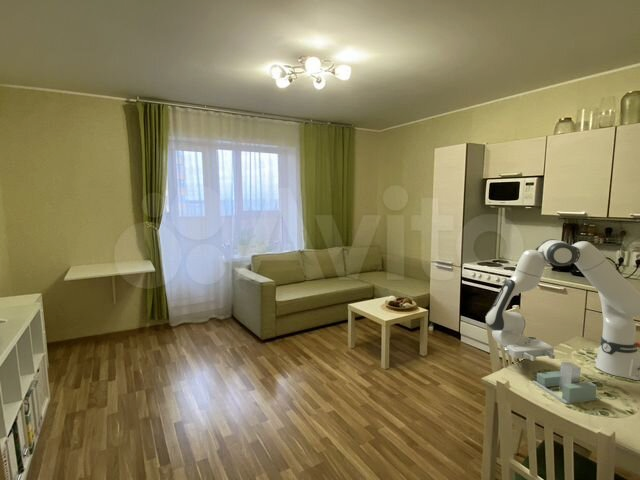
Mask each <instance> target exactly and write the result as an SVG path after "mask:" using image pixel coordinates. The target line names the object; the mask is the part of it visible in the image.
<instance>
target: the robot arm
mask: <svg viewBox="0 0 640 480" xmlns="http://www.w3.org/2000/svg"><path fill="white" fill-rule="evenodd" d="M549 264H552V265H554V266H557V267H563V266H568V265H571V264H574V265H575V266H576V267H577V269H578V270H579V271H580V272H581V274H582V275H583V276H584V278H586V279H587V281H588V282H589V283H590V284H591V286H593V287H594V288H595V289H596V290H597V293H598V297H599V299H600V306H601V312H602V320H603V321H602V322H603V324H602V336H601V337H600V345H599V347H598V351H597V356H596V358H595V359H594V363H595V367H596V368H597V370H600V371H602V372H604V373H606V374H609V375H612V376H616V377H620V378H621V377H622V378H626V379H631V380H635V381H640V351H639V350H638V348H639V349H640V342H637V341H636V331H637V330H636V329H637V326H636V323H635V320H634V318H633V317H637V316H640V292H639V290H637V289H636V288H635V287H634V286H633V284H632V283H630V282H629V281H628V279H626V278H625V277H624V276H623V274H621V273H620V272H619V271H618V269H616V268H615V267H614V265H613V264H612V263H611V262H610V261H609V260H608V258H606V256H605V255H604V254H603V253H602V252H601V251H600V250H599V249H598V248H597V247H596V246H595V245H593V244H592V243H591V242H590V241H585V240H582V241H577V242H575V243H574V244H569V243H567V242H565V241H562V240H558V239H555V238H552V239H550V238H549V239H547V240H545V241H543V242H542V243H540V245H538V247H536V248H535V249H527V250H525V251H523V253H522V254H521V256H520V258H519V260H518V261H517V265H516V266H515V270H514V272H513V274H512V275H511V276H510V277H509V279H507V280H506V281H505V282H504V283H503V285H502V286H501V288H500V290H499V292H498V294H497V295H496V298H495V300H494V302H493V304H492V306H491V308H490V309H489V310H488V312H487V313H486V314H485V323H486V325H487V327H488V328H489V329H490V330H492V331H491V335H492V337H493V339H494V340H495V342H497V343H498V344H499V345H501V346H502V349H503V350H504V351H506V353H507V354H508V355H509V356H511V357H512V358H513V359H527V360H530V361H532V362H534V361H537V358H538V357H546V356H547V357H548V359H550V360H551V359H552V360H553V359H556V355H555V354H554V351H555V349H554V347H553V346H552V345H550V344H549V343H546V342H544V341H542V340H539V337H535V336H534V337H532V336H525V335H523V333H524V331H525V328H526V320H525V318H524V316H523V315H522V314H521V313H520V312H515V311H507V310H506V309H507V307H508V306H509V304H510V302H511V300H512V298H513V297H514V296H516V295H519V294H521V293H525V292H530V291H532V290H535V289H536V288H537V287H538V285H539V284H540V282H541V278H542V275H543V272H544V270H545V268H546V267H547V266H548V265H549Z"/></svg>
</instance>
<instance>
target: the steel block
mask: <svg viewBox="0 0 640 480" xmlns="http://www.w3.org/2000/svg"><path fill="white" fill-rule="evenodd" d="M581 370H582V367H581V366H579V365H577V364H575V363H573V362H571V361H562V362H560V370H559V371H560V385H559V387H558V391H559V392H561V394H562V393H563V385H564V384H572V383H581V373H582V371H581Z"/></svg>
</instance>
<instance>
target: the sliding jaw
mask: <svg viewBox="0 0 640 480" xmlns="http://www.w3.org/2000/svg"><path fill="white" fill-rule="evenodd" d="M536 382H538V383H539V384H541V385H542V386H544V387H545V388H549V387H550V388H551V387H557V386H559V385H560V370H556V371H555V370H554V371H547V372H539V373H536Z"/></svg>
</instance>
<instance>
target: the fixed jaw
mask: <svg viewBox="0 0 640 480" xmlns="http://www.w3.org/2000/svg"><path fill="white" fill-rule="evenodd" d="M532 384H534V385H536V386H537V387H538V388H540V389H541V390H543V391H545V392H546V393H548V394H549V395H551V396H552V397H553V398H555V399H557V400H559V401H560V402H561V403H563V404H565V405H568V404H575V403H583V402H590V401H599V400H600V397H599V396H597V384H594V383H593V382H591V381H582V382H581V381H580V383H572V384H564V385H563V393H562V392H561V396H560V395H558V394H556V393H555V392H553V391H552V390H551V389H549V388H548V387H544V386H542V385H541V384H539V383H538V382H537V380H532Z"/></svg>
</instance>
